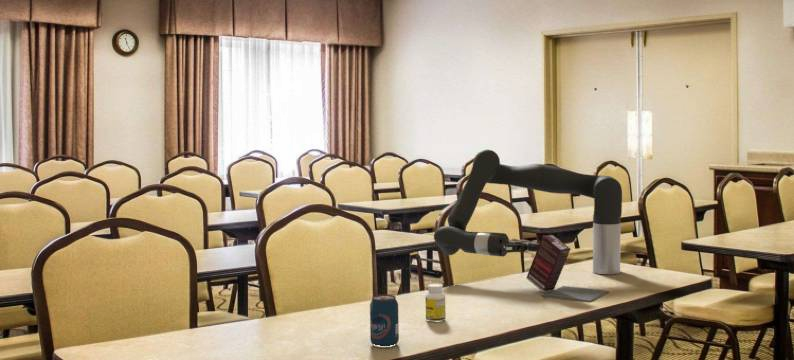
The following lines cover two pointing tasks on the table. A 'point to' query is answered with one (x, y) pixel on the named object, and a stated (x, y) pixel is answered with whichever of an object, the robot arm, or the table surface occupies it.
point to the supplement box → (548, 263)
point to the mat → (576, 293)
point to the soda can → (384, 320)
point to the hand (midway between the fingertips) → (541, 247)
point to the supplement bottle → (435, 303)
